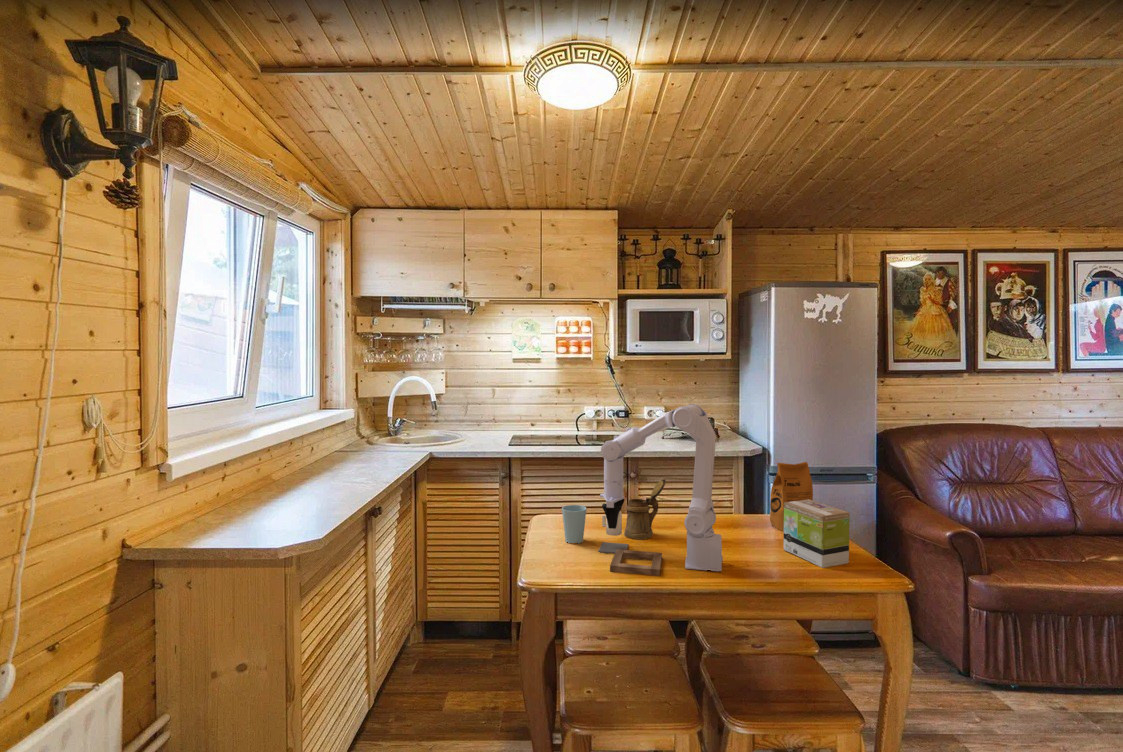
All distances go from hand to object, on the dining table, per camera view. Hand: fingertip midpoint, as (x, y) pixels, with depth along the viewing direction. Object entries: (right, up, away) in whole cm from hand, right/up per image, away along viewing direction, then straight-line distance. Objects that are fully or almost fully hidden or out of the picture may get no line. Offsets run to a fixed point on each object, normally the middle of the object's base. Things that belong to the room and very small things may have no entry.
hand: (613, 525), depth 164 cm
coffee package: (+62, -7, +21) cm, 65 cm away
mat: (0, -7, 0) cm, 7 cm away
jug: (0, -2, 0) cm, 2 cm away
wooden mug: (+11, -7, +13) cm, 19 cm away
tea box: (+57, -7, -7) cm, 58 cm away
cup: (-12, -7, +8) cm, 16 cm away
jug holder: (+5, -7, -12) cm, 15 cm away
